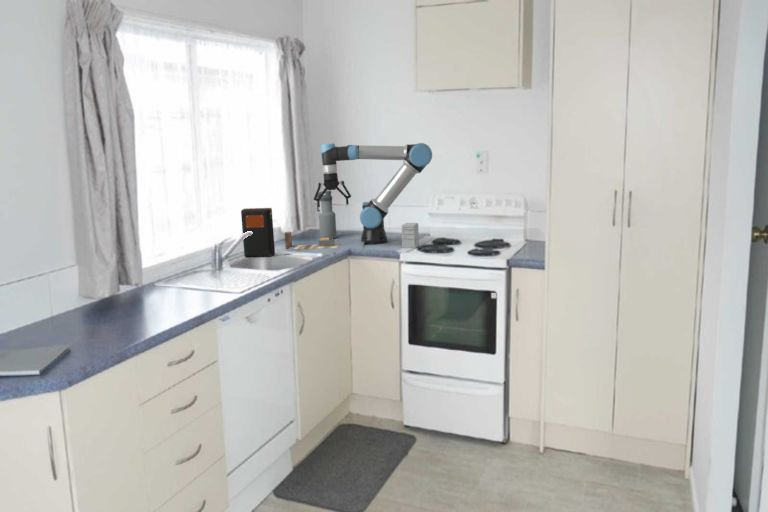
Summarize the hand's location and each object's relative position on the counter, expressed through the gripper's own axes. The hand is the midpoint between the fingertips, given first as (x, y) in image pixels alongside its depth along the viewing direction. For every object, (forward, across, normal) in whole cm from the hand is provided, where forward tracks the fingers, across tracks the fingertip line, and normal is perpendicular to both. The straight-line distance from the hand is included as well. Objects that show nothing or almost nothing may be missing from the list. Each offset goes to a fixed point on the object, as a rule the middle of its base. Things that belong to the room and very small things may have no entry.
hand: (333, 212), depth 374 cm
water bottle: (+20, +4, -33) cm, 38 cm away
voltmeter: (+18, +41, +12) cm, 47 cm away
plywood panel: (+19, +11, +1) cm, 22 cm away
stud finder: (+18, +5, -1) cm, 19 cm away
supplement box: (+21, -39, +11) cm, 46 cm away
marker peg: (+19, +26, -4) cm, 32 cm away
